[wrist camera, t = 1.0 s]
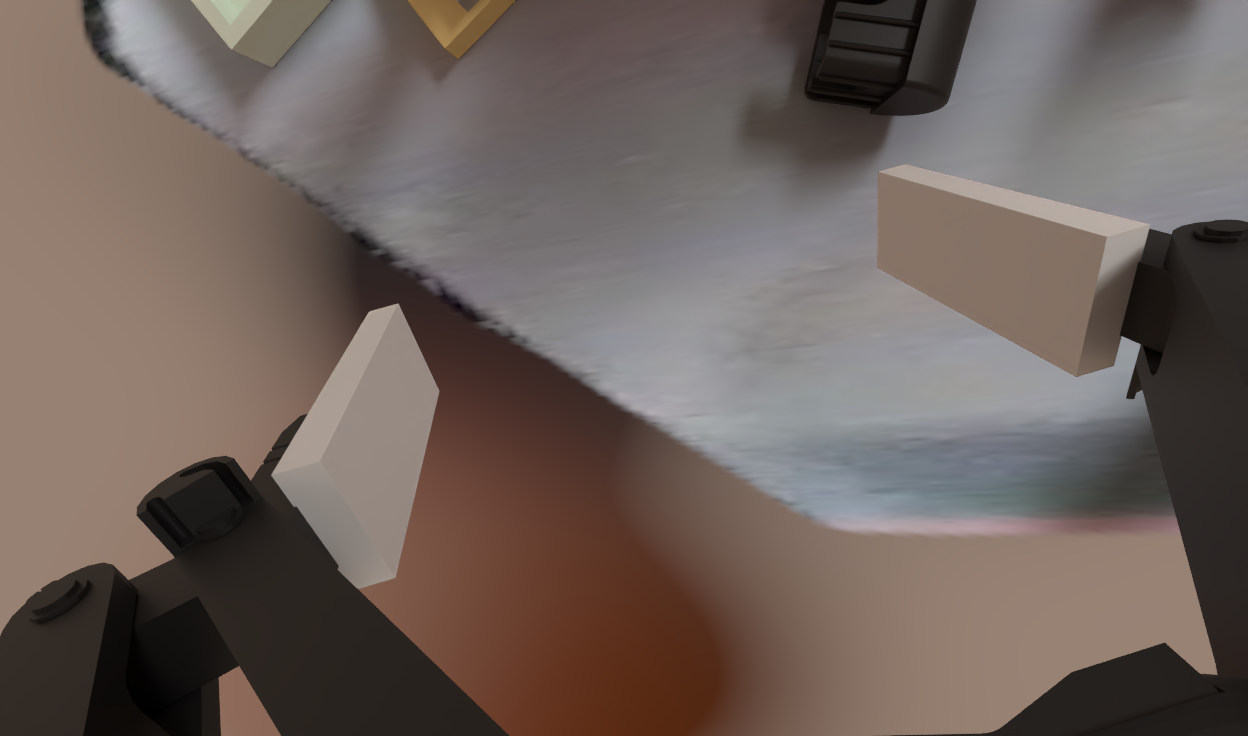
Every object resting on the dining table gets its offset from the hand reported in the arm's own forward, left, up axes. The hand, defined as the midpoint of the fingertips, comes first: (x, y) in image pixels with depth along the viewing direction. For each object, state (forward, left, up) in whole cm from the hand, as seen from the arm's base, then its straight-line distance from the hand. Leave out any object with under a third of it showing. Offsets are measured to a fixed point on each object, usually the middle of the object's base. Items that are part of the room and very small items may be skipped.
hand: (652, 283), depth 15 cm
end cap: (-18, -4, -23) cm, 29 cm away
